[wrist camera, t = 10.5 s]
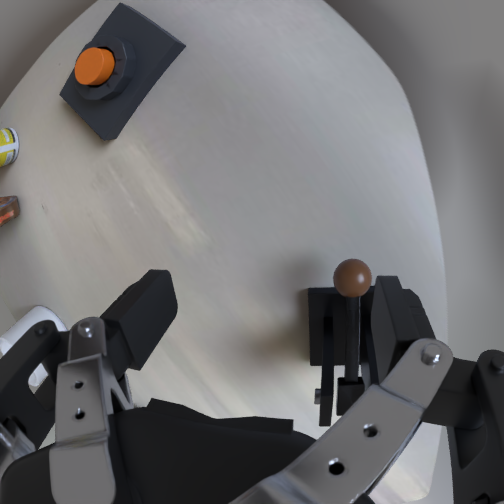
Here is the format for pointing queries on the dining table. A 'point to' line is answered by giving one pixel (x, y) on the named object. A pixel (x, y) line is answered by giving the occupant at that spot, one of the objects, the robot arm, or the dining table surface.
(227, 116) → the dining table surface
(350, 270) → the ball-knob lever
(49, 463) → the robot arm
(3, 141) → the supplement bottle
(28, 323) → the mug
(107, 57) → the button
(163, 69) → the button base
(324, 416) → the switch bracket
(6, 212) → the tin
